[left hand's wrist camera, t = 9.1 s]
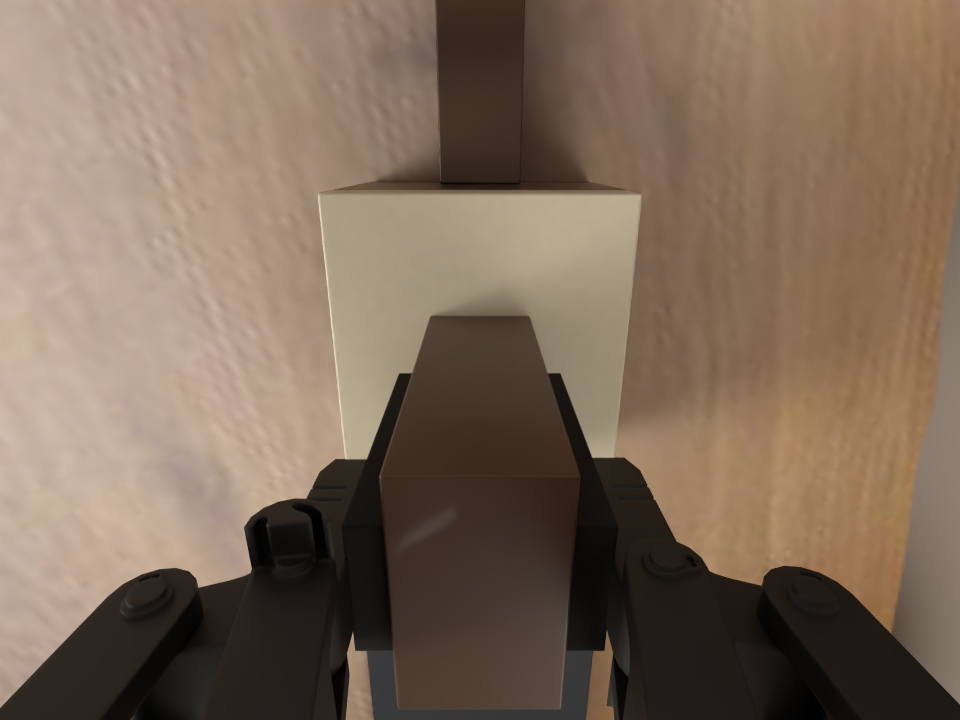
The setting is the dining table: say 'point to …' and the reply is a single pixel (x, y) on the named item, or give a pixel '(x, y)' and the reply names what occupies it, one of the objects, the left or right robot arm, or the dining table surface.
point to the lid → (479, 414)
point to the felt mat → (568, 716)
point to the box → (480, 100)
